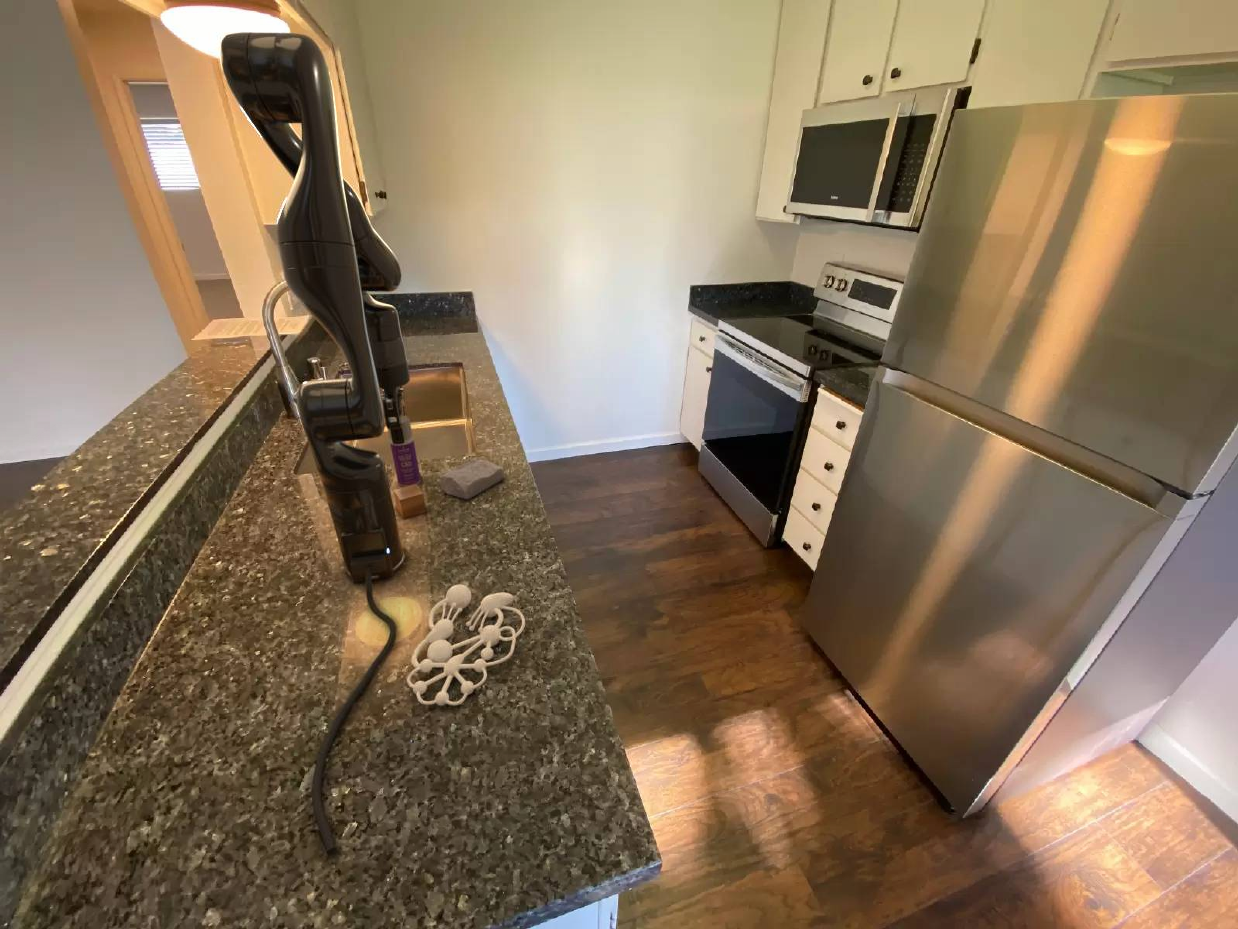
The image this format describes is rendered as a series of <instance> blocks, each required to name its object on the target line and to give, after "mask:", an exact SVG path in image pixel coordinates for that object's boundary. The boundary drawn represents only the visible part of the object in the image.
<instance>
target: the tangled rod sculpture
mask: <svg viewBox="0 0 1238 929" xmlns="http://www.w3.org/2000/svg"><path fill="white" fill-rule="evenodd" d="M471 601H472V592H471V590H470V588H469V587H468V586H466V585H464V584H461V583H458V584H455V585H452V586H451V587H450V588H449V589H448V590H447V592H446V595H445V598H443V599H442V600H441V601H439V602H438V603H436V604H435V605H434V606H433V607H432V608H431V610H430V612H429V615H428V623H427V624H428V628H429V630H430V631H429V632H428V633H427V635H426V636H425V638H424V639H423V640H422V641H421V642H419V643H418V645H417V646H416V648H415V649H414V651H413V654H412V655H411V658H410V659H411V660H410V661H411V664H412V666H413V668H414V669H413V670H412V671H410V673H409V674H408V675H407V678H406V683H407V684H408V687H410V688H412V692H413V693H414V694H415V695H416V699H417V701H418V702H419V703H420V704H421V705H424V706H431V705H434V704H436V705H437V706H439V707H443V706H446V705H449V706H459V705H461V704H463V703H464V702H465V700H466V699H467V697H468V696H469V695H471V694H472V693H473V692H474V690H475V689H477V688H479V687H481V686H482V685H483V684H484V683H485V682H486V680H487V678H488V672H487V667H491V666H496V665H499V664H502V663H504V662H505V661H507V660H509V659H510V658H511V657H512V656H513V655H514V651H515V648H516V640H517V638H518V637H519V636H520V635H521V634H522V632H523V631H524V629H525V626H526V620H525V616H524V614H523V613H522V612H521V610H519V609H518V608H515V607H511V606H508V605H510V604H511V603H513V601H514V595H513V594H511V593H509V592H503V591H502V592H496V593H491V594H488V595H486V596H484V597H483V599H482V600H481V602H480V605H479V606H478V608H477V609H476V610H475V612H474V613H473V615H472V616H471V617H470V619H469V621H466V623H465V626H466V627H468V630H469V631H470V632H473V631H475V628H476V625H477V624H478V623H479V621H480V618H481V617H482V616H483V617H482V619H481V622H480V627H478V629H477V632H478V633H479V635H476V636H473V637H471V638H468V639H466V640H463V641H460V642H458V643H455V644H451V643H450V642H449V641H447V640H446V639H448V638H449V637H451V635H452V634H453V632H454V624H453V623H454V621H455V619H456V617H457V615H458V614H459V613H461V612H463V609H465V608H467V606H469V604H470V603H471ZM447 605H448V607H449V608H450V609H449V610H448V613H447V616H446V618H445V615H446V606H447ZM441 607H442V615H441V618H440V619H439V620H438V621H437V622H436V623H435V624H434V621H435V620H434V619H435V614H436V612H437V611H438V610H439V609H440V608H441ZM453 610H457V611H456V612H455V613H454V615H453V617H451V618H452V619H451V620H450V616H451V615H452V611H453ZM502 610H506V611H512V612H514V613H516V614H517V615H518V616H519V617H520V619H521V626H520V628H519V630H518V631H517V632H516V630H515V629H514V628H513V627H512V626H509V625H507V626H502V624H503V622H504V617H505V616H504V613H503V612H502ZM478 613H479V614H478ZM477 614H478V615H477ZM495 616H498V619H497V621H496V623H495V624H494V625H493V624H489V625H486V626H484V623H485V621H486V619H487V617H488V618H493V617H495ZM475 618H476V619H475ZM473 621H474V622H473ZM472 623H473V624H472ZM506 630H507V631H511V634H512V636H510V637H504V636H502V633H501V632H503V631H506ZM476 641H477V642H476ZM500 641H503V642H511V646H510V650H509V653H508V654H507V655H506V656H504V657H502V658H500V659H498V660H495V661H489V660H492V658H493V657H494V650H493V649H492V647H494V646H496V645H498V643H500ZM474 642H476V643H475V644H473V645H472V646H471V647H470V648H468V649H467V650H466V651H465V652H463V653H460V654H457V655H454V656H453V652H454V650H456V649H458V648H461V647H464V646H466V645H469V644H471V643H474ZM427 644H428V645H429V644H430V645H429V646H428V648H427V651H426V657H427V658H424V659H423V660H421V661H420V663H419V662H418V657H419V655H420V653H421V651H422V649H423V648H424V647H425V646H426V645H427ZM481 645H483V646H485V647H484V648H482V650H481V651H480V657H481V658H478V659H476V660H475V661H474V662H473V663H464V660H465V658H466V657H467V656H468V655H470V654H471V653H473V652H474V651H475V650H477V649H478V648H479V647H480V646H481ZM486 661H489V662H486ZM434 668H443V672H441V673H440V674H438V675H435V676H434V677H432V678H430V679H428V680H425V681H424V680H418V681H416V682H415V683H414V684H413V683H412V681H411V679H412V677H413V675H414V674H415V673H418V671H421V672H422V673H429V672H431V670H432V669H434ZM470 669H473V670H474V671H475V672H477V673H482V674H483V677H482V679H481V680H480V681H479V682H478V683H476V684H474V683H473V681H470V680H466V679H465V678H464V676H462V675H461V673H460V670H470ZM445 677H446V679H445V682H444V684H443V686H442V687H441V690H440V691H438V693H436V695H435V697H434V700H429V701H428V700H424V699H423V698H422V697H421V695H424V694H425V693H426V691H427V689H428V686H430V685H432V684H434V683H436V682H438V681H439V680H442V679H444V678H445ZM454 677H455V679H457V680H458V682H460V684H461V686H460V692H461V693H462V694H463V696H462V697H461V699H459V700H458V701H451V700H450V696H449V693H448V690H449V687H450V685H451V682H452V680H453V678H454Z"/></svg>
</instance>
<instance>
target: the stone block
mask: <svg viewBox="0 0 1238 929" xmlns="http://www.w3.org/2000/svg"><path fill="white" fill-rule="evenodd" d="M504 474H505V472H504V469H503V468H502V467H501V466H499V465H497V464H496V463H493V462H491V461H489V460H486V459H472V460H469V461H467V462H465V463H462V464H461V465H459V466H457V467H456V468H454V470H451V471H449V472H446V473H443V474H442V475H440V476H439V485H440V488H441V490H442V491H443V492H445V494H447V495H449V496H454V497H457V498H459V499H463V500H467V501H468V500H470V499H472V498H474V497H476V496H477V495H479V494H481V493H482V492H484V491H486V490H488V489H489V488H491V487H492V486H495V485H496V484H498V483H499V482H500V481H502V480H503V478H504V476H505V475H504Z"/></svg>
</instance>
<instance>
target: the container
mask: <svg viewBox="0 0 1238 929" xmlns="http://www.w3.org/2000/svg"><path fill="white" fill-rule="evenodd" d="M401 420H402V424H403V425H402V429H403V435H404V440H405V441H404V443H403V444H393V441H392V436H391V431H390V429H387V433H388V439H389V440H388V441H389V444H390V450H391V455H392V460H393V464H394V470H395V475H396V479H397V484H398V486H399V487H401V488H404V487H407V486H411V485H414V484H416V485H417V486H418V485H419V484H420V483H421V474H420V468H419V462H418V457H417V451H416V445H415V440H414V435H413V431H412V426H411V421H410V417H409V416H408V415H405V416H404V415H403V416H402V417H401ZM395 421H397V419H396V417H391V422H395Z"/></svg>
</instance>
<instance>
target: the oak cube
mask: <svg viewBox="0 0 1238 929" xmlns="http://www.w3.org/2000/svg"><path fill="white" fill-rule="evenodd" d="M392 492H393V496H394V500H395V505H396V509H397V511H398V512H399V514H400V515H401V517H402V519H403V520H405V519H408V518H411V517H414V516H418V515H421V514H424V513H426V512H427V510H426V504H425V499H424V493H423V492H422V490H421V489H420V488H419V487H418V484H417V485H416V484H414V485H411V486H407V487H400V488H397V489H393V491H392Z"/></svg>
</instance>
